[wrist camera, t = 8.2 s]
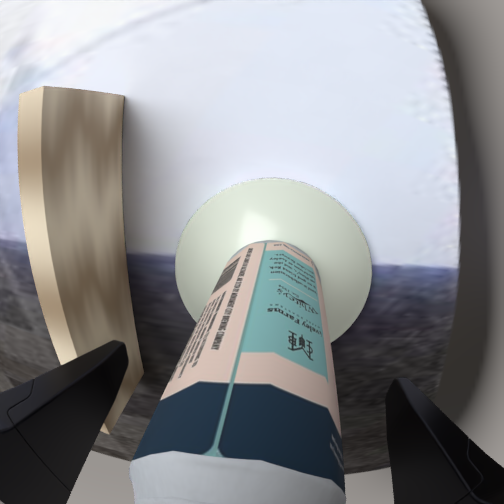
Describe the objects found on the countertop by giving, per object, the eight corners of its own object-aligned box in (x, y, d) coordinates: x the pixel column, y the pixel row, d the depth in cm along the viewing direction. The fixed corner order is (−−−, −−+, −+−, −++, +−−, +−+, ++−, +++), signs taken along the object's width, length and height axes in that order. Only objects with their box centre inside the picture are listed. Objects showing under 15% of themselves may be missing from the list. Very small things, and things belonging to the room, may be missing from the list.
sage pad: (283, 375, 18) (282, 382, 17) (148, 283, 17) (144, 288, 16) (405, 265, 14) (409, 270, 14) (254, 134, 13) (253, 134, 12)
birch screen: (144, 372, 20) (109, 434, 14) (126, 368, 20) (89, 426, 14) (124, 95, 13) (44, 86, 7) (100, 98, 13) (19, 94, 7)
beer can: (230, 322, 16) (158, 540, 5) (217, 239, 14) (70, 468, 3) (320, 320, 15) (332, 557, 4) (319, 233, 14) (372, 510, 3)
